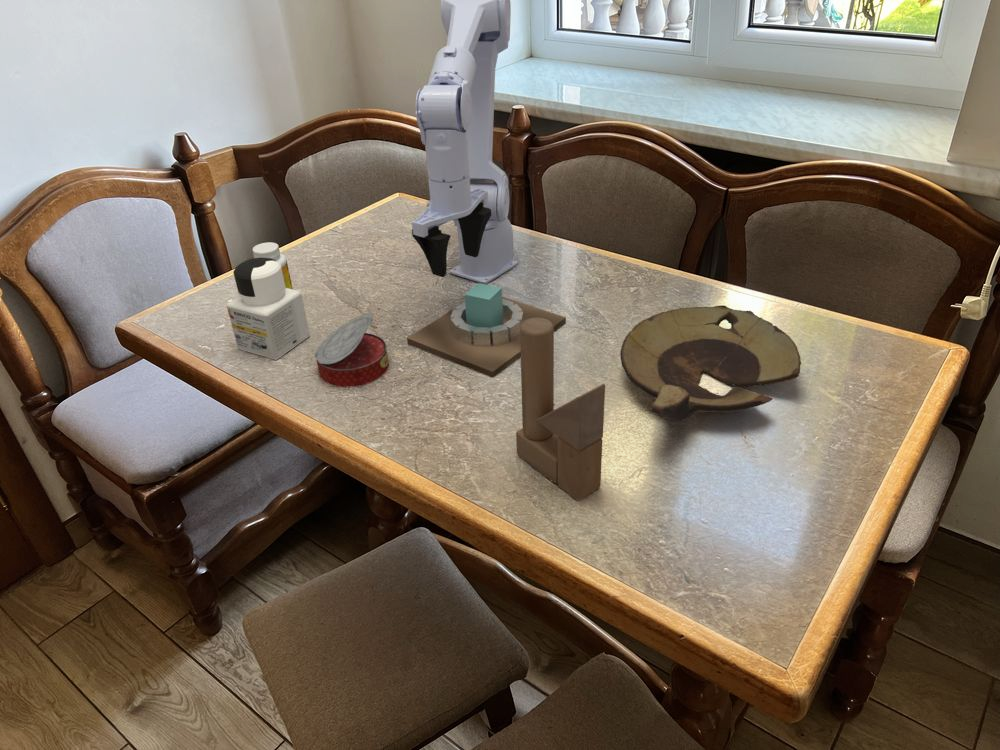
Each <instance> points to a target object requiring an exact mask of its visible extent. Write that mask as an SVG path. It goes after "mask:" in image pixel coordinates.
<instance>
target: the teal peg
mask: <svg viewBox="0 0 1000 750" xmlns="http://www.w3.org/2000/svg"><path fill="white" fill-rule="evenodd" d="M502 297H503V288H502V287H501V286H495V285H490V284H487V283H486V284H482V283H479V282H476V284H475V285H474V286H473V287H471V288H470V289H469V290H468V291H467V292H466V293H465V294H464V302H465V305H466V319H467V324H469V325H472V326H474V327H486V328H490V327H495V326H499V325H502V324H503V301H502Z"/></svg>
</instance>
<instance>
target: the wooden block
mask: <svg viewBox="0 0 1000 750" xmlns="http://www.w3.org/2000/svg"><path fill="white" fill-rule="evenodd" d="M554 333H555V332H554V326H553V324H552V322H550V321H549V320H547V319H544V318H530V319H527V320H525V321H524V322H523V323H522V324H521V326H520V352H521V357H520V376H521V379H520V380H521V381H520V383H521V415H522V417H521V418H522V419H521V420H522V427H521V428H520V429H518V430H516V432H515V437H516V438H515V440H516V454H517V456H518V457H520V458H521V459H522V460H523V461H525V462H526V463H528V465H530V466H532V467H533V468H534V469H535V470H537V471H538V472H540V473H541V474H542V475H544V476H545V477H546V478H548V479H549V480H551V482H553V483H554V484H557V486H558V487H559V488H560V489H562V490H563V491H564V492H566V493H567V494H568V495H570V496H571V497H572V498H574V499H575V500H576V501H581V500H583V499H585V497H587V496H590V494H592V493H594V492H595V491H597V490H598V489H600V488H601V484H602V482H601V480H602V478H601V477H602V459H603V437H604V423H605V420H604V419H605V397H606V383H602V384H600V385H598V386H596V387H595V388H592V389H590V390H589V391H587V392H585V393H582V394H581V395H579V396H577V397H576V398H574V399H571V400H570V401H568V402H566V403H565V404H564V403H563V404H562V405H561V406H559V407H557V408H555V409H554V407H555V406H554V404H555V403H554V401H555V399H554V398H555V397H554V396H555V394H554V392H555V391H554V390H555V387H554V384H555V382H554V381H555V369H554V368H555V367H554V366H555V363H554V362H555V361H554V360H555V356H554V355H555V349H554V345H555V344H554V339H555V338H554V337H555V336H554Z"/></svg>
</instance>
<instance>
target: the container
mask: <svg viewBox="0 0 1000 750" xmlns="http://www.w3.org/2000/svg"><path fill="white" fill-rule="evenodd" d="M233 277H234V281H235V285H236V288H237V293H238V296H237V297H235V298H233V299H232V300H230V301H228V303H227V304H226V309H227V312H228V317H229V320H230V323H231V327H232V331H233V335H234V338H235V342H236V346H237V349H238V350H241V351H245V352H247V353H252V354H255V355H259V356H262V357H266V358H269V359H273V360H276V361H277V360H279V359H280V358H281V357H283V356H285V354H287V353H288V352H290V351H292V349H294V348H296V347H297V346H298V345H299V344H301V343H302V342H304V341H305V340H306V339H308V338H309V337H310V336H311V335H310V330H309V329H310V328H309V324H308V319H307V314H306V310H305V303H304V299H303V295H302V292H301V290H298V289H289V288H286V287H285V283H284V278H283V273H282V269H281V264H280V263H279V262H278V261H276V260H274V259H271V258H254V257H253V258H250V259H247V260H244V261H242V262H241V263H238V264H237V265H236V267H235V268H234V270H233Z"/></svg>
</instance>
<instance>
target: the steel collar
mask: <svg viewBox="0 0 1000 750" xmlns="http://www.w3.org/2000/svg"><path fill="white" fill-rule="evenodd" d="M502 301H503V317H504V318H507V319H508V320H509V321H507V322H506V323H504V324H503V325H499V326H495V327H490V328H486V327H474V326H472V325H469V324H466V323H465V322H467V319H466V305H465V301H464V302H462V303H461V305H460V304H459V305H458V306H455V307H454V308H453V309H455V310H453V312H452V314H451V317H450V319H451V330H452V333H453V334H454V336H455V337H456V338H457V339H459V341H462V342H464V343H467V344H470V345H472V344H474V346H491V344H492V345H493V346H495V345H499V344H503V343H507V342H509V341H512V340H513V339H515V338H516V337H517V336H519V335H520V326H521V324H522V323H523V310H522V309H521V308H520V307H519V306H518V305H517V304H515V303H514V302H511V301H508V300H505V299H502Z"/></svg>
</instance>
